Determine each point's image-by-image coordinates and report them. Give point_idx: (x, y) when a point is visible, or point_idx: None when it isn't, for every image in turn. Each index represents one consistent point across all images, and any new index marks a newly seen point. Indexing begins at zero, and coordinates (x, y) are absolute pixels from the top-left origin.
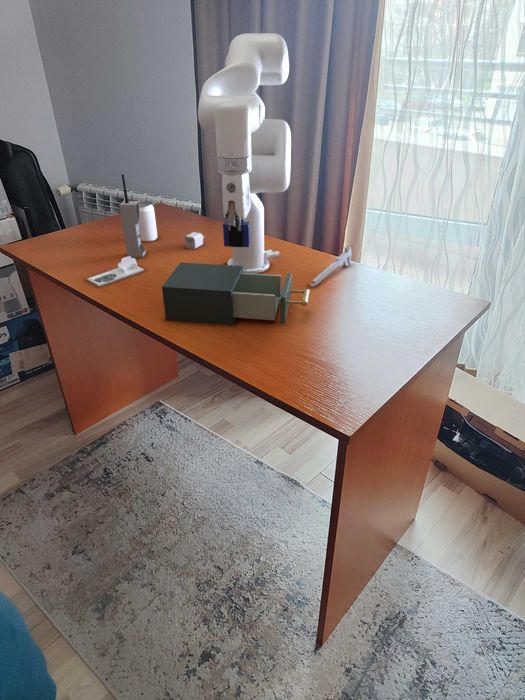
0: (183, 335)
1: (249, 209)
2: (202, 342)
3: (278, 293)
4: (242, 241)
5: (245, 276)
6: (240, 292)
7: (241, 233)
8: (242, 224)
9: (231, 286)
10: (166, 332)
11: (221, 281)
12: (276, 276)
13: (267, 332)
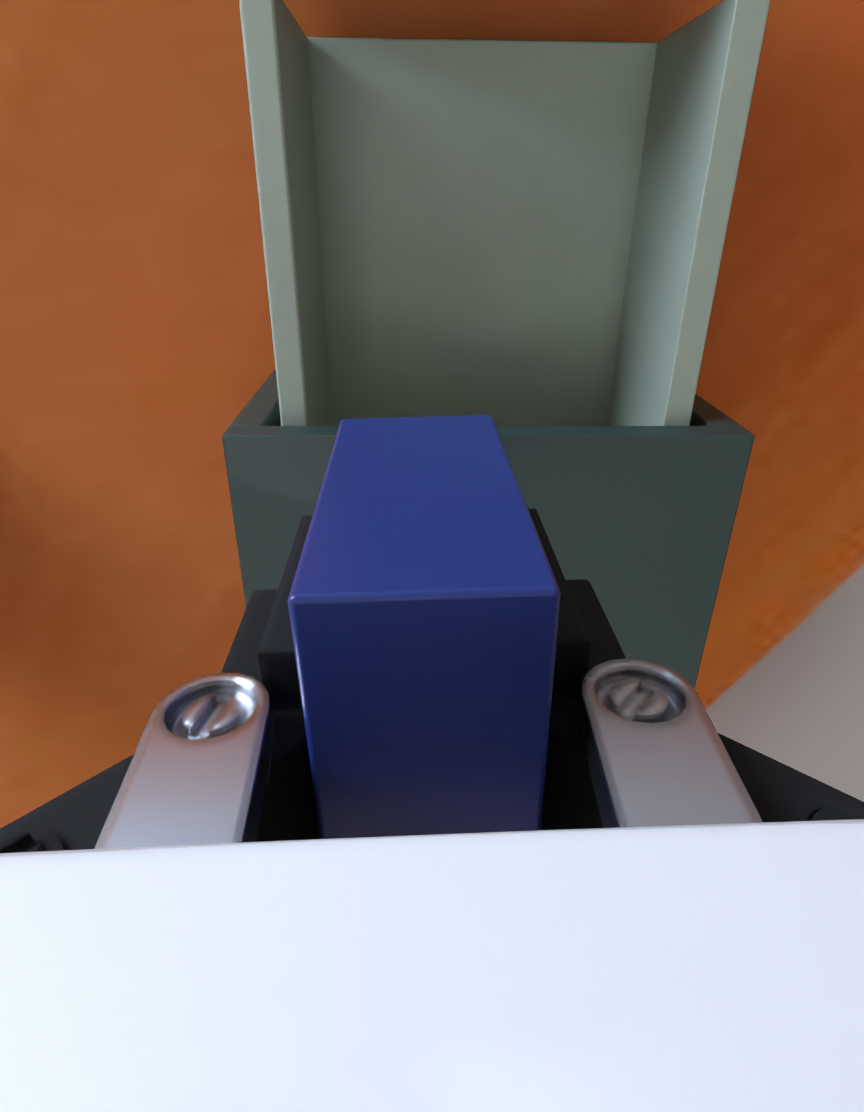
0: (753, 588)
1: (51, 900)
2: (834, 485)
3: (306, 53)
4: (541, 539)
5: (309, 385)
6: (679, 362)
7: (573, 623)
8: (515, 720)
9: (665, 451)
10: (719, 663)
11: (569, 546)
12: (277, 45)
13: (759, 98)
